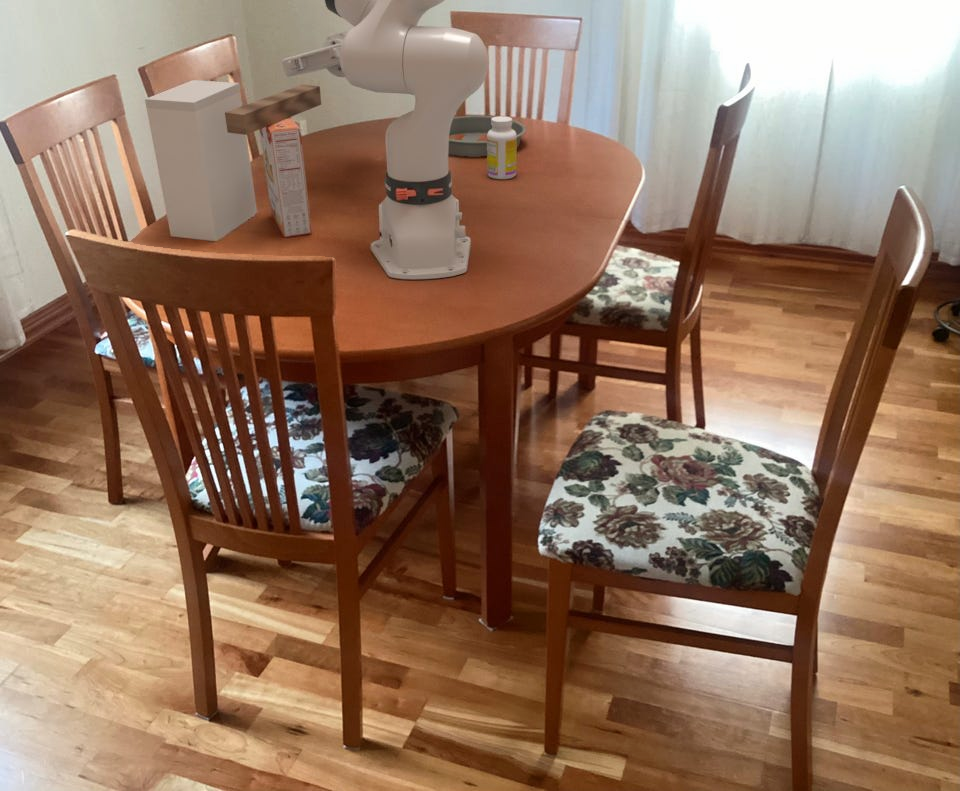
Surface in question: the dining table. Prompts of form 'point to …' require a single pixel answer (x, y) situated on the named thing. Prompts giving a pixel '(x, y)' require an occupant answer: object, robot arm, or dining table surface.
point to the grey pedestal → (201, 159)
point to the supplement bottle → (501, 149)
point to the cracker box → (286, 177)
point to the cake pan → (475, 135)
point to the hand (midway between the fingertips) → (312, 59)
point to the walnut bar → (272, 109)
